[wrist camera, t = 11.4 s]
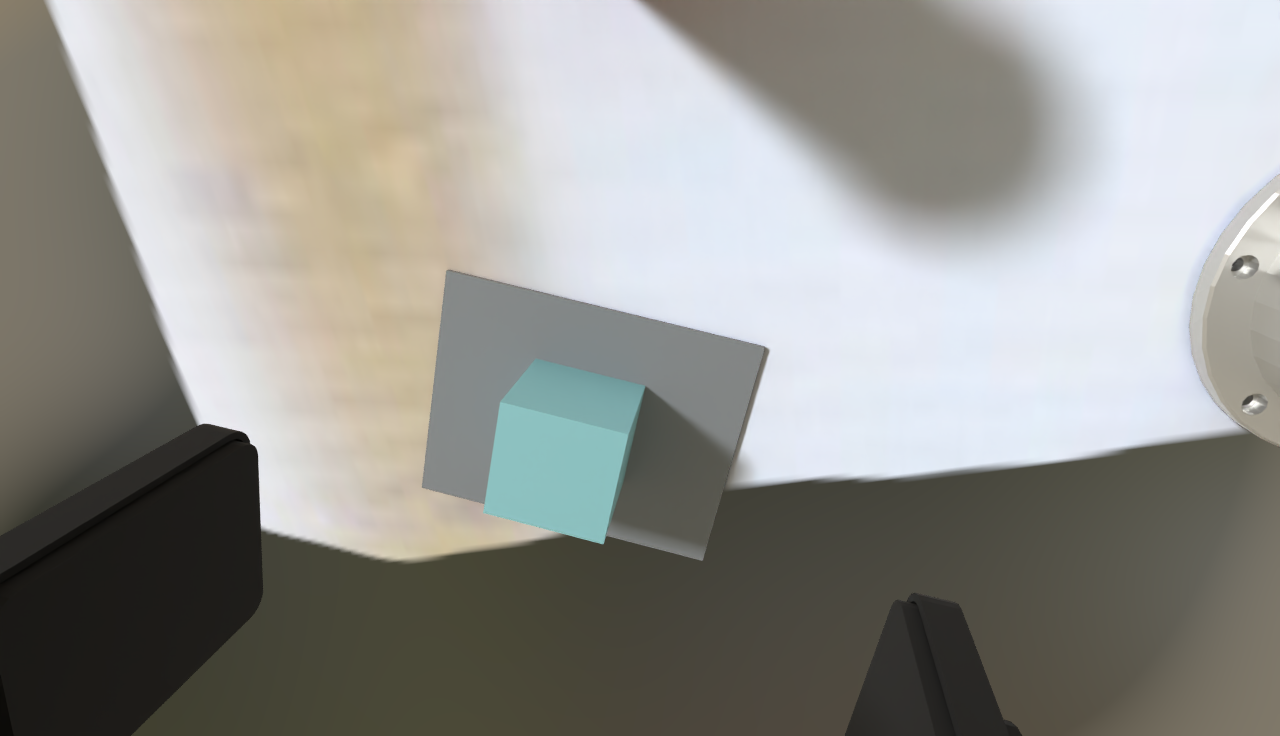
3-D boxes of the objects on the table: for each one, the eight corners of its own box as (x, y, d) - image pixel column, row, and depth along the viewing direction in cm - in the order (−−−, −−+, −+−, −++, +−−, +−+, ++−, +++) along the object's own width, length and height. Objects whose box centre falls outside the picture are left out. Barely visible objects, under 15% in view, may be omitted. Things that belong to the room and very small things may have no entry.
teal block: (645, 385, 32) (628, 434, 27) (622, 482, 33) (603, 544, 29) (535, 358, 32) (500, 401, 27) (519, 456, 34) (483, 512, 29)
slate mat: (764, 346, 30) (764, 348, 30) (702, 558, 34) (702, 560, 34) (448, 269, 31) (446, 270, 31) (423, 485, 35) (422, 487, 35)
